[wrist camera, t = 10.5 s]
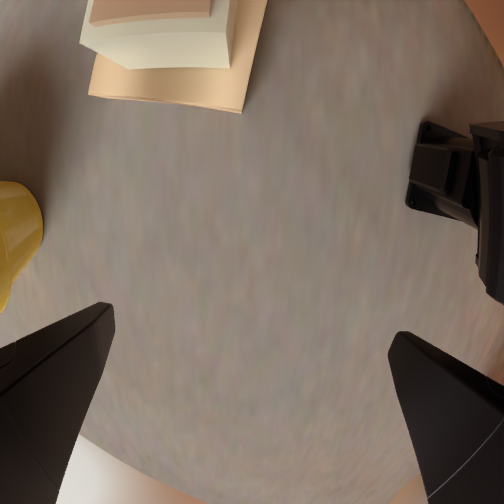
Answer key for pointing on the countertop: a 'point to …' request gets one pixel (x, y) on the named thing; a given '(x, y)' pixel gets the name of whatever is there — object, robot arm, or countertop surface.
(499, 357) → the countertop surface
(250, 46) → the beech block
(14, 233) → the plant pot
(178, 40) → the cream lidded box
